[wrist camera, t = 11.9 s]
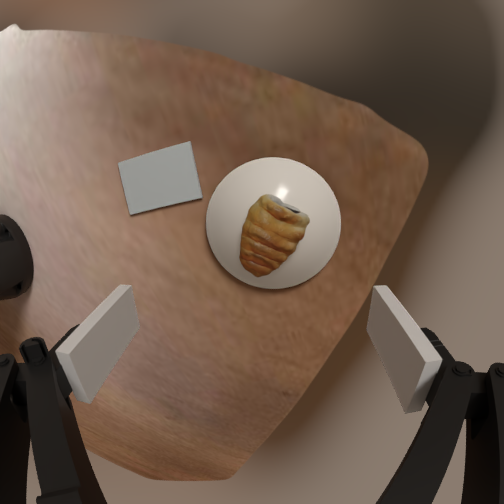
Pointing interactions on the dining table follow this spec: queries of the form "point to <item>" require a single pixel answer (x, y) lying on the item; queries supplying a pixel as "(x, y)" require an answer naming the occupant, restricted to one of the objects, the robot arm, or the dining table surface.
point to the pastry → (270, 234)
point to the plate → (290, 192)
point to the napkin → (160, 178)
